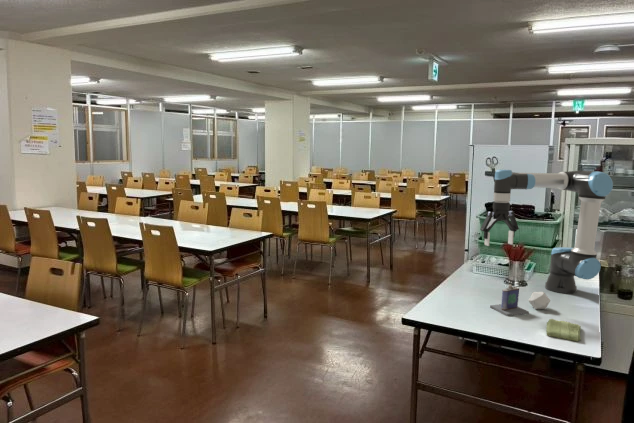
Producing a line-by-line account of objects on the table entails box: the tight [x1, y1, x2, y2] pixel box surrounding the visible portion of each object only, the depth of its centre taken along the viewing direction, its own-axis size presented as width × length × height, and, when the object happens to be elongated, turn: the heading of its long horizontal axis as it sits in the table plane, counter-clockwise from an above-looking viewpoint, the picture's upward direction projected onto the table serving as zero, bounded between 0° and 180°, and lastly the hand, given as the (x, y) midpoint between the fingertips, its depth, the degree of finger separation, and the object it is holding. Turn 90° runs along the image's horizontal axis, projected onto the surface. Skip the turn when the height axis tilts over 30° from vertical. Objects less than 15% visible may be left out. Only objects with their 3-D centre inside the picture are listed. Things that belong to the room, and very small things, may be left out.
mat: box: [489, 303, 530, 317], centre depth 219 cm, size 12×12×1 cm
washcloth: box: [545, 318, 582, 342], centre depth 194 cm, size 13×18×3 cm
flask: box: [500, 283, 520, 310], centre depth 218 cm, size 10×3×12 cm, turn 117°
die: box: [528, 291, 551, 310], centre depth 222 cm, size 8×9×10 cm
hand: (498, 244), depth 228 cm, fingers open, 13 cm apart
